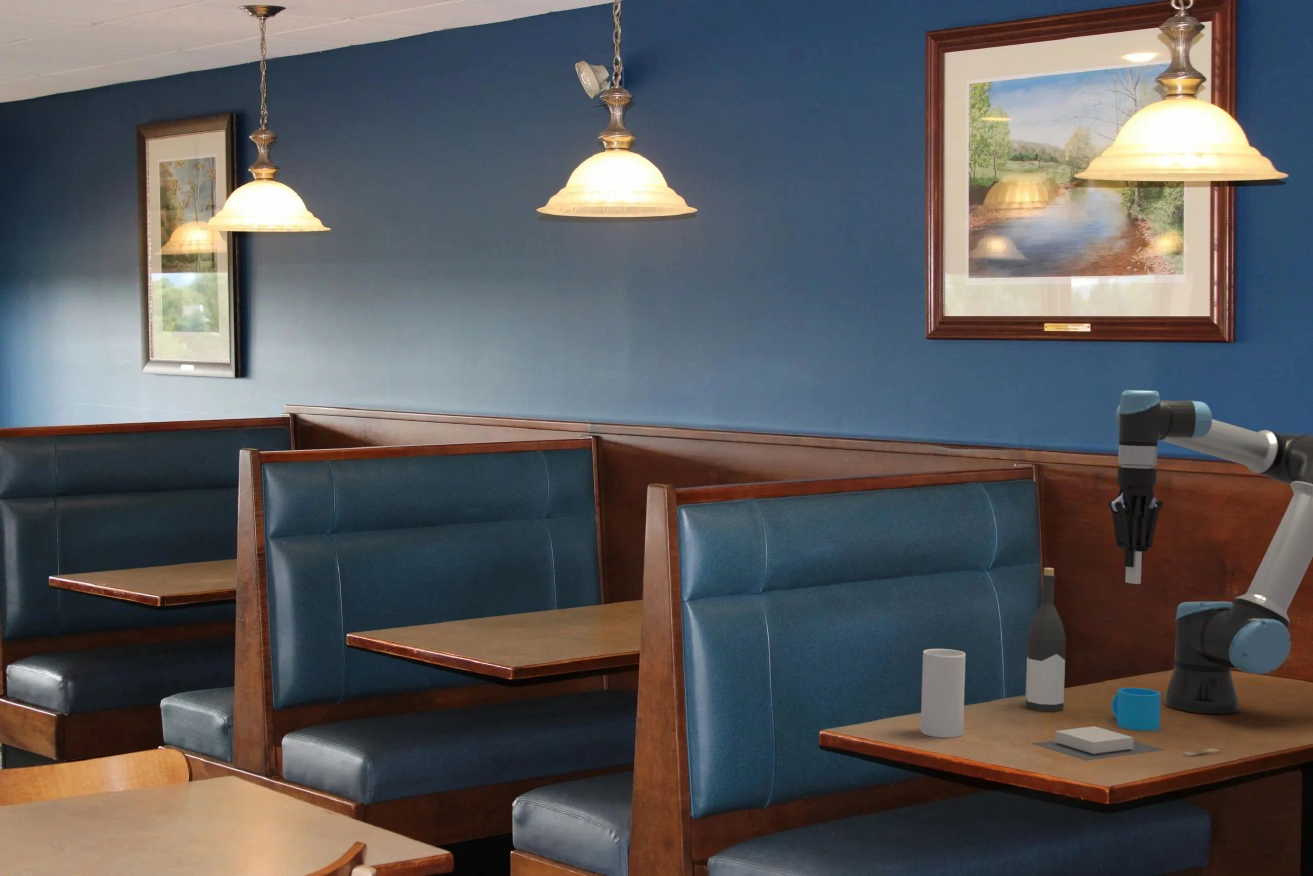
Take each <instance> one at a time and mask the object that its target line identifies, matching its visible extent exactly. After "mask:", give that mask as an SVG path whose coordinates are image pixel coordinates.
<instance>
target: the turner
mask: <svg viewBox="0 0 1313 876" xmlns="http://www.w3.org/2000/svg"><path fill="white" fill-rule="evenodd" d="M1221 752H1222V751H1221V750H1220V749H1217V748H1207V749H1206V748H1205V749H1199V750H1194V751H1193V750H1192V751H1186V752H1182V756H1185V757H1188V758H1193V757H1195V758H1196V757H1201V756H1207V755H1208V756H1209V755H1217V754H1221Z"/></svg>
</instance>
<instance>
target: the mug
mask: <svg viewBox="0 0 1313 876" xmlns="http://www.w3.org/2000/svg"><path fill="white" fill-rule="evenodd" d="M1161 694H1162V693H1161V692H1160V691H1159V690H1158V691H1157V690H1154V689H1150V688H1142V687H1121V688H1119V689H1118V690H1117V693H1116V694H1115V695H1114V696H1113V698H1112V702H1111V710H1112V714H1113V716H1114V718H1115V719H1116V725H1117V726H1118V727H1120V728H1123V729H1126V730H1127V729H1128V730H1133V731H1157V730H1159V729H1160V725H1161V724H1160V723H1161V699H1162V698H1161V696H1162V695H1161Z"/></svg>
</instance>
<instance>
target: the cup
mask: <svg viewBox="0 0 1313 876" xmlns="http://www.w3.org/2000/svg"><path fill="white" fill-rule="evenodd" d="M921 672H922V673H921V674H922V679H921V707H920V708H921V709H920V714H921V715H920V733H921V734H922V733H923V734H922V735H925V736H929V737H933V738H942V739H944V738H947V739H949V738H960V737H962V736H963V735H964V714H965V713H964V710H965V682H966V681H965V680H966V678H965V677H966V652H965V651H962V650H957V649H948V648H947V649H946V648H929V649H925V650H923V651H922V671H921Z"/></svg>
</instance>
